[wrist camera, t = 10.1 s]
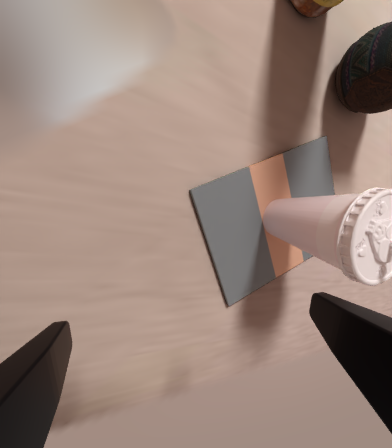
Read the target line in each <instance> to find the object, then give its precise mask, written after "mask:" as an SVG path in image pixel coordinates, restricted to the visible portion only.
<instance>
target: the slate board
mask: <svg viewBox="0 0 392 448" xmlns="http://www.w3.org/2000/svg"><path fill="white" fill-rule="evenodd" d="M189 191H190V194H191V197H192V200H193V203H194V206H195V209H196V212H197V215H198V218H199V221H200V224H201V227H202V230H203V233H204V236H205V239H206V242H207V245H208V248H209V251H210V254H211V257H212V260H213V263H214V266H215V269H216V272H217V275H218V278H219V281H220V284H221V288H222V291H223V294H224V297H225V300H226V303H227V305H228V306H230V305H232V304H234V303H235V302H237V301H239V300H240V299H242V298H244V297H245V296H247V295H249V294H250V293H252V292H254V291H255V290H257V289H259V288H260V287H262V286H264V285H265V284H267V283H269V282H270V281H272V280H273V279H275V278H277V277H278V276H280V275H282V274H283V273H285V272H287V271H288V270H290V269H292V268H293V267H295V266H297V265H298V264H300V263H302V262H303V261H305V260H307V259H308V258H310V257H312V256H313V255H311V254H309V253H307V252H305V251H303V250H301V249H299V248H297V247H295V246H293V245H291V244H289V243H287V242H285V241H283V240H281V239H279V238H277V237H275V236H273V235H271V234H269V233H268V232H267V231H266V229H265V228H264V225H263V215H264V211H265V209H266V207H267V206H268V205H269V203H271V202H272V201H273V200H276V199H285V198H300V197H314V196H329V195H335V193H334V186H333V179H332V171H331V164H330V157H329V149H328V142H327V136H323V137H321V138H318V139H316V140H313V141H311V142H308V143H306V144H303V145H301V146H298V147H296V148H293V149H291V150H288V151H286V152H283V153H281V154H278V155H276V156H273V157H271V158H268V159H266V160H263V161H261V162H258V163H256V164H253V165H251V166H248V167H246V168H243V169H241V170H238V171H236V172H233V173H231V174H228V175H226V176H223V177H221V178H218V179H216V180H213V181H211V182H208V183H206V184H203V185H201V186H198V187H196V188H193V189H191V190H189Z"/></svg>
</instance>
